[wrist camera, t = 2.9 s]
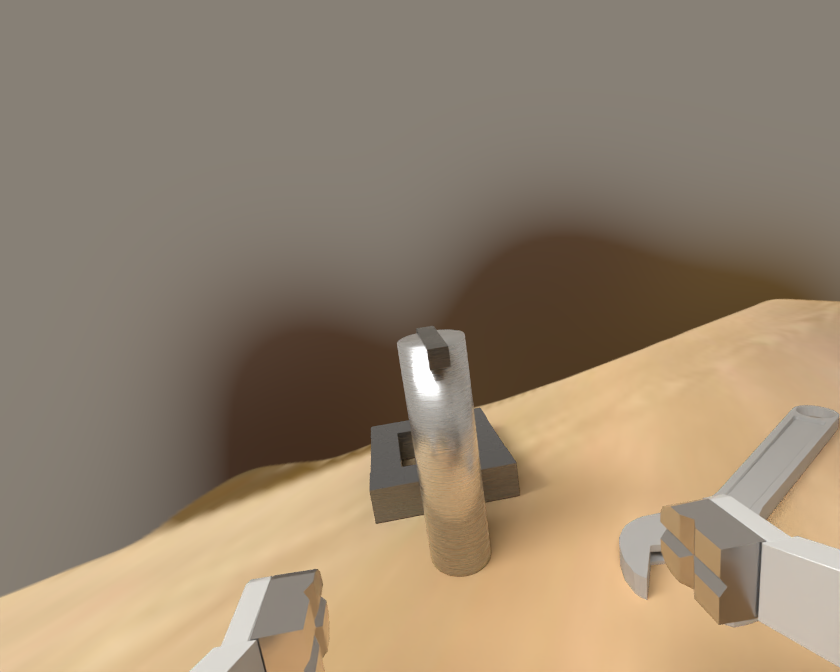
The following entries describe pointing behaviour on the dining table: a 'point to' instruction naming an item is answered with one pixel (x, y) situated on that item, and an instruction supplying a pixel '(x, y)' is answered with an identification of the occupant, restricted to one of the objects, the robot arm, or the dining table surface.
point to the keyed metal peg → (446, 448)
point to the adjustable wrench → (740, 488)
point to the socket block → (400, 485)
